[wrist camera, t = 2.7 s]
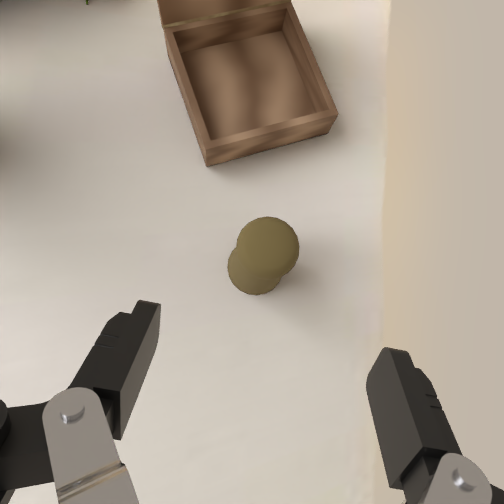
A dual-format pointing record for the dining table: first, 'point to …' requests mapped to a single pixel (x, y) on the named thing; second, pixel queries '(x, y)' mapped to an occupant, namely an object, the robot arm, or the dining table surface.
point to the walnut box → (249, 82)
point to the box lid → (206, 9)
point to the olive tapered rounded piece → (263, 255)
